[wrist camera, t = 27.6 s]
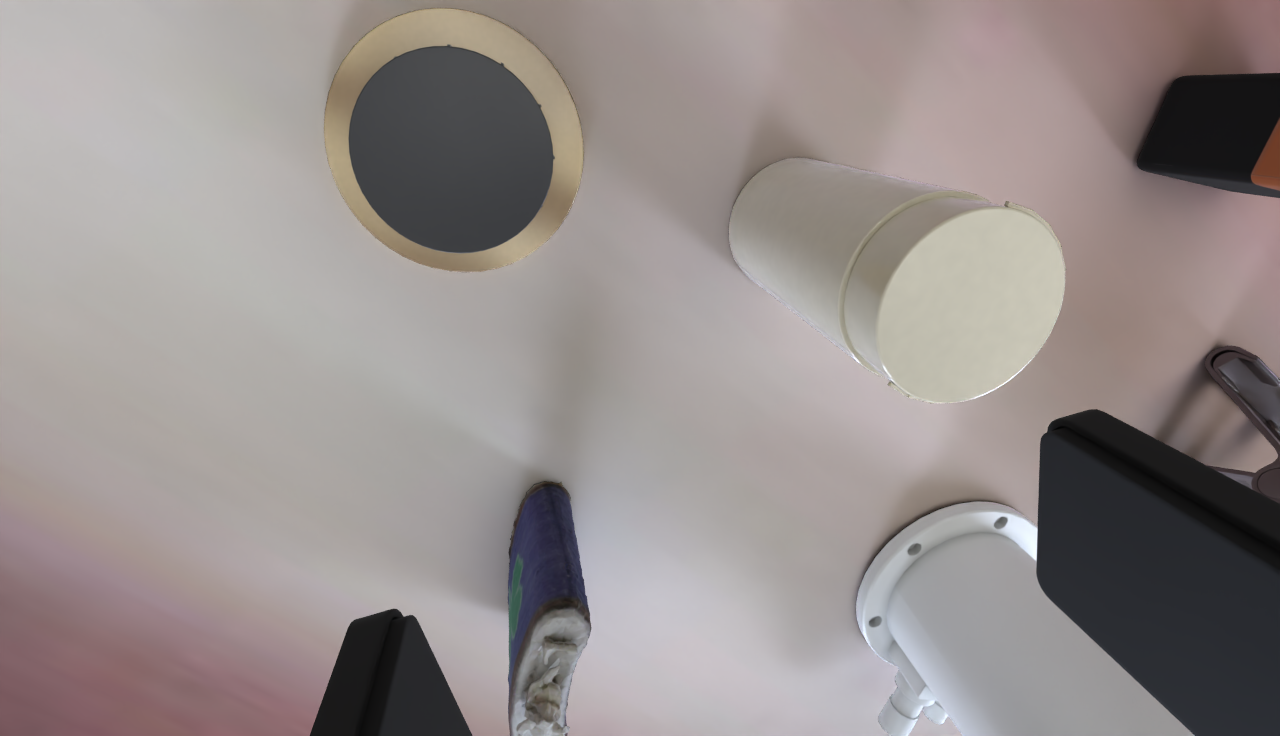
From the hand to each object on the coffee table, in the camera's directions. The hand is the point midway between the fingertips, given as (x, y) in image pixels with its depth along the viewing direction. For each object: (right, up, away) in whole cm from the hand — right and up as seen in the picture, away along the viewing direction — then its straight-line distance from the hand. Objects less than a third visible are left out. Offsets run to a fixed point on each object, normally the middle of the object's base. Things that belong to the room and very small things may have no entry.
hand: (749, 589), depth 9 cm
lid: (-9, +11, +15) cm, 20 cm away
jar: (+5, +10, +21) cm, 23 cm away
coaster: (-9, +12, +17) cm, 22 cm away
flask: (-7, -7, +25) cm, 27 cm away
